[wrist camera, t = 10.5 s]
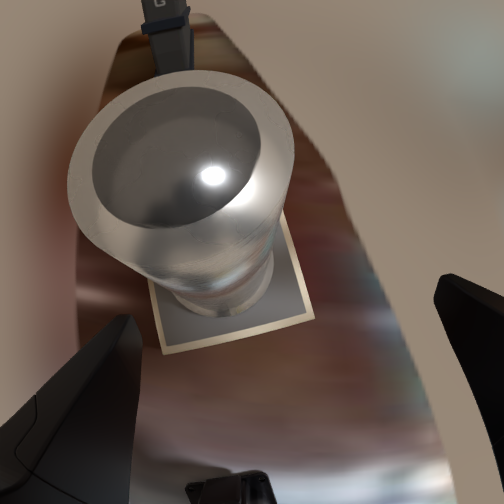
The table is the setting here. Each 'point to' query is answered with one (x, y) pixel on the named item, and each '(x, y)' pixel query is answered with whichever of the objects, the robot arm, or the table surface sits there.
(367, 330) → the table surface
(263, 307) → the stand
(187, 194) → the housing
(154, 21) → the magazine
